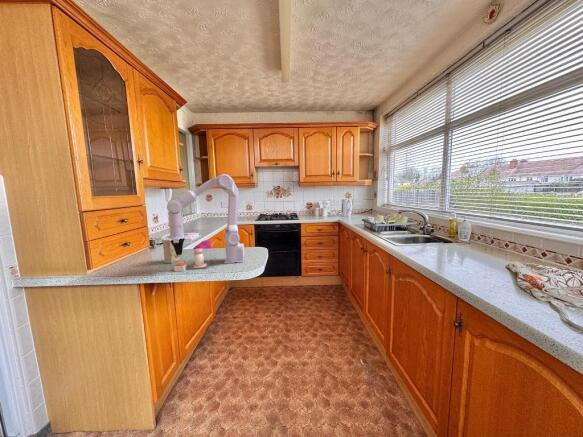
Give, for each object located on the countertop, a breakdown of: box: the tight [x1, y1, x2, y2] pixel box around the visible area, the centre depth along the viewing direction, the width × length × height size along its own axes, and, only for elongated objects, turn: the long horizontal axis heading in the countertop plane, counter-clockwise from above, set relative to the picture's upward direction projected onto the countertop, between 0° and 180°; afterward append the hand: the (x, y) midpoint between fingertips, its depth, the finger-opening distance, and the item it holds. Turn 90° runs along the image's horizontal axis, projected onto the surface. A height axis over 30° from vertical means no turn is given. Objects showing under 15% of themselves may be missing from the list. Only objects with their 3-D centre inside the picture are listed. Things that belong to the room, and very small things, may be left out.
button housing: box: [173, 262, 188, 272], centre depth 109 cm, size 4×4×2 cm
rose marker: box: [193, 247, 205, 267], centre depth 112 cm, size 4×4×8 cm
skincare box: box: [162, 238, 180, 264], centre depth 122 cm, size 6×4×12 cm
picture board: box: [186, 260, 213, 270], centre depth 114 cm, size 9×10×1 cm
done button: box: [175, 260, 186, 266], centre depth 109 cm, size 3×3×2 cm
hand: (179, 254), depth 108 cm, fingers closed
